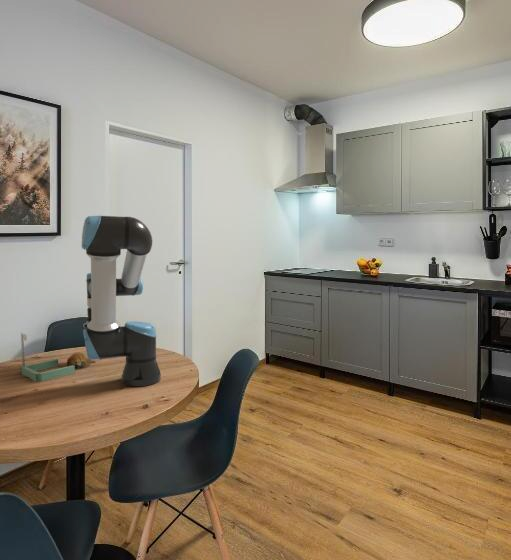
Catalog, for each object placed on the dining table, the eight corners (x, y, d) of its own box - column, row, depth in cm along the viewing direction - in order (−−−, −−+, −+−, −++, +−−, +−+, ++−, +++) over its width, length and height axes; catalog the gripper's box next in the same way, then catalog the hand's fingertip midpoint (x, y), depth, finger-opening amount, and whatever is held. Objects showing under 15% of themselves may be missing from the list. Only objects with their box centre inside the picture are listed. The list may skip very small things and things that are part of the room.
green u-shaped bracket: (74, 373, 173) (73, 333, 172) (37, 382, 162) (35, 339, 160) (56, 365, 183) (55, 327, 182) (20, 373, 172) (18, 333, 170)
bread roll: (93, 372, 186) (96, 354, 188) (82, 369, 176) (86, 350, 179) (72, 371, 187) (76, 353, 189) (60, 368, 177) (64, 349, 180)
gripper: (105, 304, 195) (106, 353, 197) (78, 307, 185) (79, 359, 187) (113, 306, 190) (115, 356, 192) (86, 309, 180) (88, 362, 182)
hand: (97, 358), depth 190 cm, fingers closed
